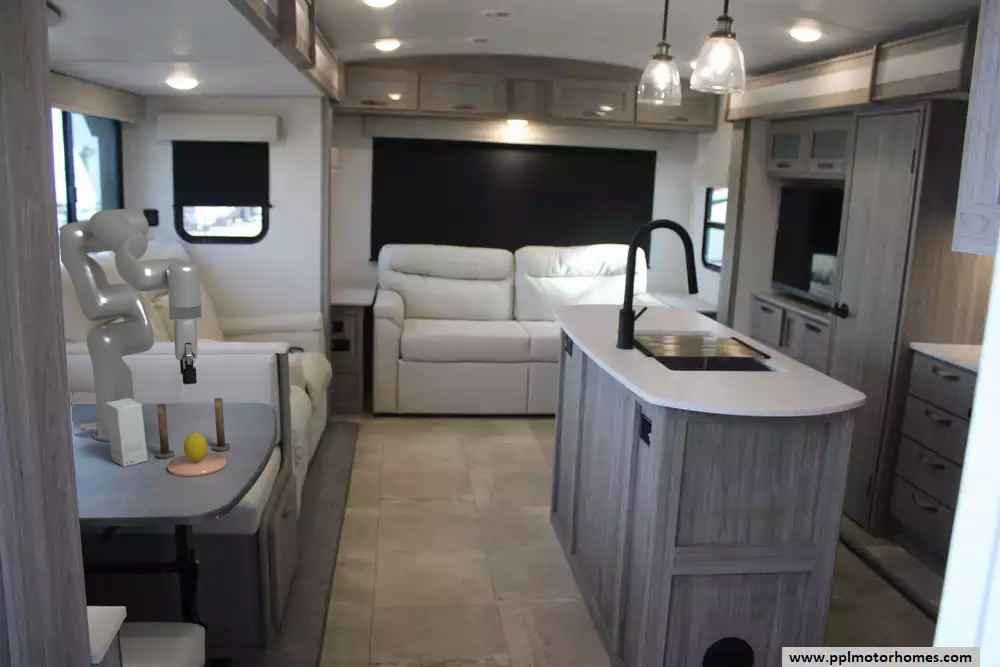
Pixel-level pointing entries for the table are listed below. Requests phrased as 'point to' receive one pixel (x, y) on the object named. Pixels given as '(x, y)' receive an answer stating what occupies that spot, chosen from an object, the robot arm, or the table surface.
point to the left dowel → (163, 434)
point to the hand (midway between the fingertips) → (188, 378)
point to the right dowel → (220, 427)
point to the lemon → (195, 447)
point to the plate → (197, 465)
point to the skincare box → (126, 432)
